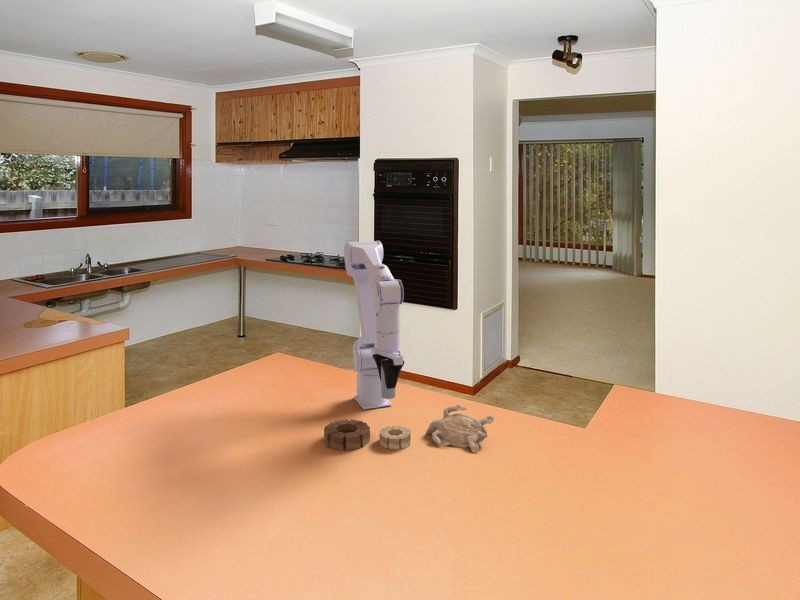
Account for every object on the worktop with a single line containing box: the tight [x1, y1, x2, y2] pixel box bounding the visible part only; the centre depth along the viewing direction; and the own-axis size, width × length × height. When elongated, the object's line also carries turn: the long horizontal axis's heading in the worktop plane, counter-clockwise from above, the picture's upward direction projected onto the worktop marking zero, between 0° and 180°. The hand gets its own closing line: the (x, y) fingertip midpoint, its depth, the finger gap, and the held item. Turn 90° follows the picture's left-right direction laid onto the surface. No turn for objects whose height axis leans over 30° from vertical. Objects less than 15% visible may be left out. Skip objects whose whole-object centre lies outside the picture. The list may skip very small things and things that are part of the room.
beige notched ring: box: [379, 425, 412, 450], centre depth 137 cm, size 7×7×2 cm
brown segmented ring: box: [323, 418, 371, 451], centre depth 138 cm, size 10×10×3 cm
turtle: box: [425, 404, 495, 454], centre depth 138 cm, size 16×10×10 cm, turn 85°
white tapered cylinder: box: [381, 359, 396, 400], centre depth 145 cm, size 3×3×9 cm
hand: (388, 385), depth 145 cm, fingers closed on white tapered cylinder, 3 cm apart
